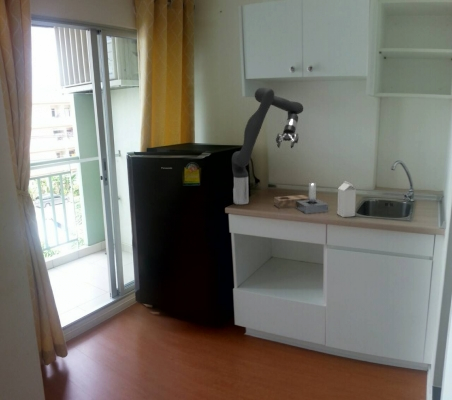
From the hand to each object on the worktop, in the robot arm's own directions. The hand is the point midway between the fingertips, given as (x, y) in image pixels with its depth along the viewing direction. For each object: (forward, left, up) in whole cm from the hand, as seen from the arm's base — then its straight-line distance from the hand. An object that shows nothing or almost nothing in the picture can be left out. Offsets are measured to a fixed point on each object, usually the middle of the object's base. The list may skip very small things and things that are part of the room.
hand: (284, 147), depth 264 cm
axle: (+6, -30, -35) cm, 46 cm away
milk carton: (+19, -47, -35) cm, 61 cm away
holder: (+6, -30, -35) cm, 46 cm away
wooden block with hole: (-1, -16, -35) cm, 38 cm away
